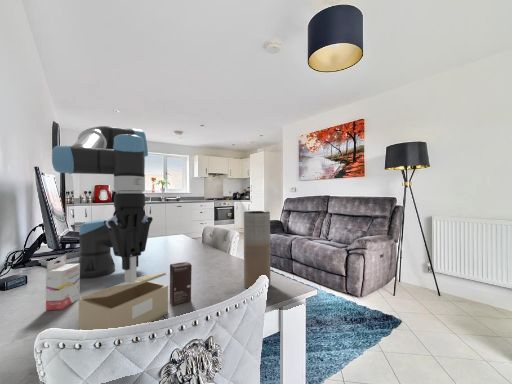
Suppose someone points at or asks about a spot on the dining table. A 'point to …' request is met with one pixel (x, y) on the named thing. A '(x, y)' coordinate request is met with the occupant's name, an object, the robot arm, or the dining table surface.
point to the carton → (124, 307)
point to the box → (180, 282)
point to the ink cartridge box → (61, 284)
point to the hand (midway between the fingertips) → (130, 280)
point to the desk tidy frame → (70, 255)
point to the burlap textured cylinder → (256, 246)
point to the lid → (122, 286)
